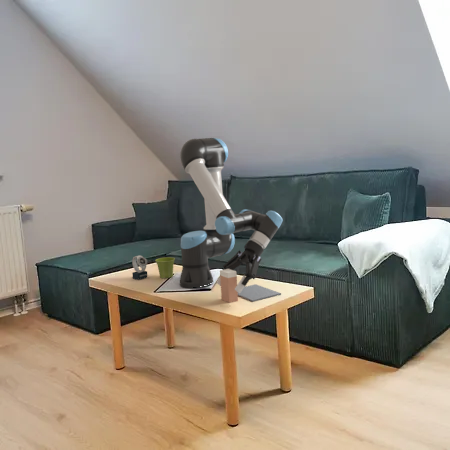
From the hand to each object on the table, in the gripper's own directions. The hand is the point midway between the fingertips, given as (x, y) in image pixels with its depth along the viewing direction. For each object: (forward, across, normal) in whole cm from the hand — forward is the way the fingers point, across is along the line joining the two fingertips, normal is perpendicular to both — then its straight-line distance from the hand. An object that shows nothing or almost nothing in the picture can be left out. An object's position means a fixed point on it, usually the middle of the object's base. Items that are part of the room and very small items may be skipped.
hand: (227, 287), depth 198 cm
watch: (+13, +60, +5) cm, 61 cm away
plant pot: (+5, +53, -2) cm, 53 cm away
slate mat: (-6, +2, -13) cm, 15 cm away
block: (+3, +1, -4) cm, 5 cm away
